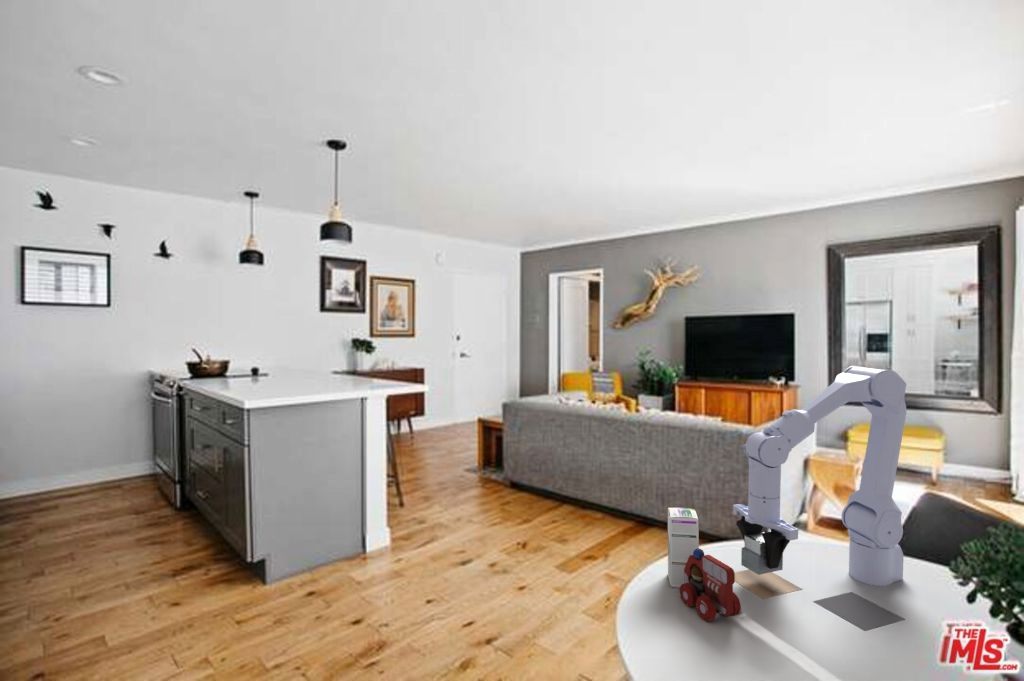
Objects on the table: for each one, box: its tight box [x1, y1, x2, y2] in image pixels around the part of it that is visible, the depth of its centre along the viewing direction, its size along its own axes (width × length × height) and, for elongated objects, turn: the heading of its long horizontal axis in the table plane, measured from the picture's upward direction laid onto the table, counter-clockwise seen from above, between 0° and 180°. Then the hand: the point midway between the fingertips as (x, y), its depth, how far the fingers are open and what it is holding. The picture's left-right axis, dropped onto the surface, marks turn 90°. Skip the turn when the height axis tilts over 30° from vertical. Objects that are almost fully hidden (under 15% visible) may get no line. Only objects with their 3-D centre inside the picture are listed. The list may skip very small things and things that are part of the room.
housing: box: [740, 531, 784, 575], centre depth 107 cm, size 6×4×6 cm
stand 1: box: [734, 569, 803, 600], centre depth 107 cm, size 10×10×2 cm
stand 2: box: [812, 591, 906, 632], centre depth 97 cm, size 10×10×2 cm
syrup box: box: [667, 507, 700, 589], centre depth 110 cm, size 6×6×14 cm
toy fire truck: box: [679, 547, 742, 622], centre depth 100 cm, size 7×12×10 cm, turn 18°
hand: (762, 561), depth 107 cm, fingers closed on housing, 4 cm apart
